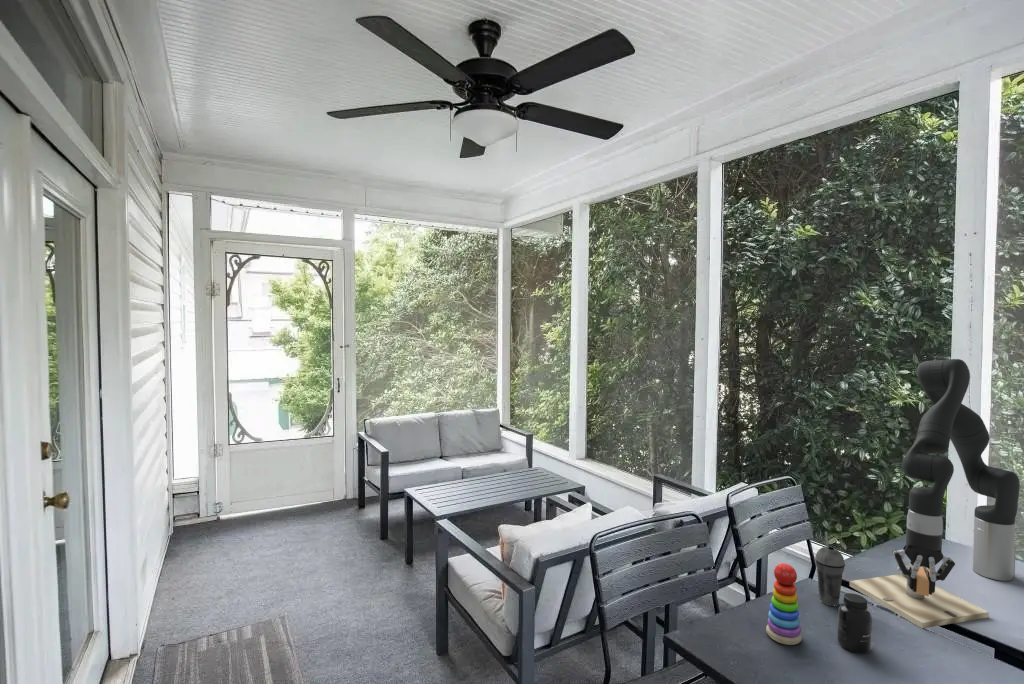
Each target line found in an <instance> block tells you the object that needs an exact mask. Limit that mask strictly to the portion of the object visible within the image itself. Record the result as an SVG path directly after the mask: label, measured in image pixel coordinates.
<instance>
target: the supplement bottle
mask: <svg viewBox="0 0 1024 684" xmlns="http://www.w3.org/2000/svg"><path fill="white" fill-rule="evenodd" d="M842 602H843V603H842V604H839V607H838V612H837V615H838V616H837V642H838V644H839V645H840V646H841V647H842V648H843V649H845V650H847V651H849V652H852V653H855V654H861V655H864V654H868V653H869V652H870V651H871V649H872V627H873V626H872V625H873V624H872V623H873V619H872V614H871V612H870V611H869V610H868V600H867V599H866V598H865V597H864V596H862V595H860V594H857V593H853V592H847V593H844V595H843V599H842Z"/></svg>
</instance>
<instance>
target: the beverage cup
mask: <svg viewBox="0 0 1024 684" xmlns="http://www.w3.org/2000/svg"><path fill="white" fill-rule="evenodd" d="M824 533H825V534H824V535H825V544H826V546H823V547H821V548H819V549H818V550H817V551H816V554H815V558H814V561H815V568H816V572H817V585H818V595H819V601H820V600H821V601H822V602H823V603H825V604H828V605H832V606H831V607H837V606H836V605H839V602H840V598H841V589H842V582H843V581H842V580H843V573H844V570H845V566H846V564H845V559H844V556H843V555H842V553H841V552H840V551H839V550H838V549H836V548H835V547H832V546H829V537H828V531H825V532H824ZM821 601H820V602H821ZM822 602H821V603H822ZM823 603H822V604H823ZM825 604H824V605H825ZM828 605H827V606H828ZM834 605H835V606H834Z"/></svg>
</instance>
